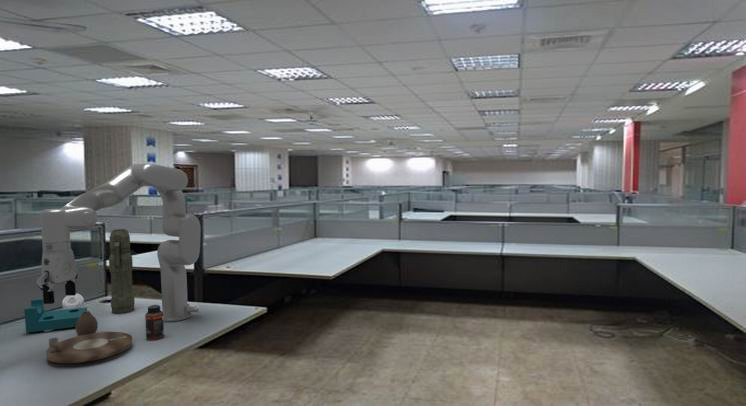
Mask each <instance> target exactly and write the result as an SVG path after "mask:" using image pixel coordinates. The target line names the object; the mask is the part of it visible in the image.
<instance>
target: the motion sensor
mask: <svg viewBox="0 0 746 406" xmlns="http://www.w3.org/2000/svg"><path fill="white" fill-rule="evenodd" d="M84 303H85V298H84V297H83V296H82V295H81V294H80V293H76V295H74V296H66V295H65V297H64V298H63V299H62V303H61V304H62V305H61V306H62V308H63V310H66V309H75V308H84Z"/></svg>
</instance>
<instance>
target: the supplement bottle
mask: <svg viewBox="0 0 746 406" xmlns="http://www.w3.org/2000/svg"><path fill="white" fill-rule="evenodd" d="M144 317H145V318H144V320H145V335H146V336H145V337H146V339H147V340H149V341H154V340H160V339H162V338H164V337H165V321H164V315H163V312H162V309H161V305H160V304H154V305H153V304H151V305H150V306H148V307H147V312H146V314H145V315H144Z"/></svg>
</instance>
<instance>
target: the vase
mask: <svg viewBox="0 0 746 406" xmlns="http://www.w3.org/2000/svg"><path fill="white" fill-rule="evenodd" d="M98 327H99V325H98V320H97V318H96V317H95V316H94V315H93V314H92V313H91V311H89V310H87V311H85V312H82V314H81V316H80V317H79V319H78V320H77V322H76V326H75V327H74V328H75V333H76V334H77V336H81V335H86V334H92V333H97V331H98Z"/></svg>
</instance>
